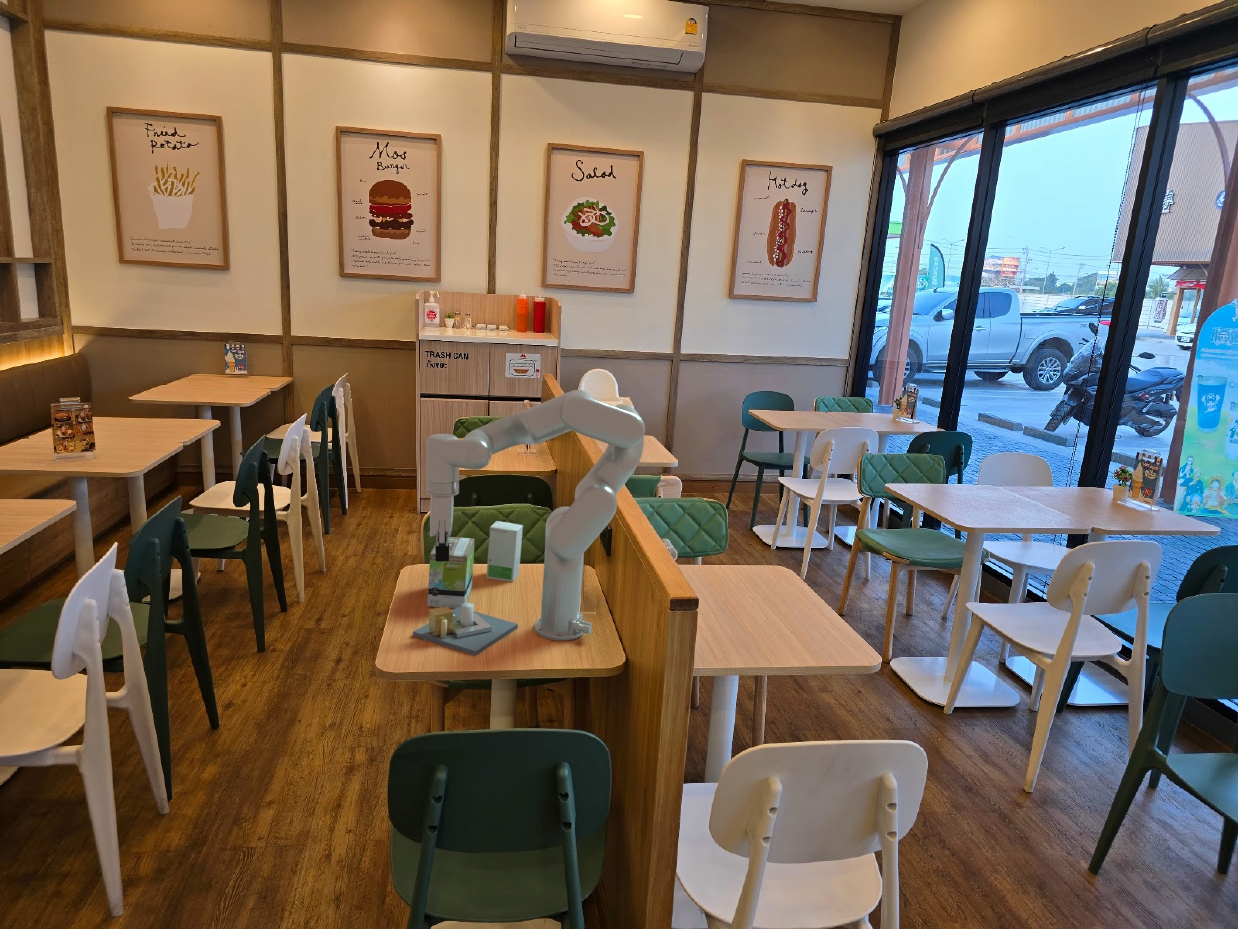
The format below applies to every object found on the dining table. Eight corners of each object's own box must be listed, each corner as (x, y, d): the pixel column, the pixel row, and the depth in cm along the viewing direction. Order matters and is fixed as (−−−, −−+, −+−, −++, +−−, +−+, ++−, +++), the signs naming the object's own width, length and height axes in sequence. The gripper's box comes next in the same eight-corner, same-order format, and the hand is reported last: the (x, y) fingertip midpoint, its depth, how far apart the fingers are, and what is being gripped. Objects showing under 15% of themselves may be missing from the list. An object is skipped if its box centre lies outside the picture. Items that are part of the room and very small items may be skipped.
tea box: (465, 609, 212) (467, 555, 209) (426, 607, 211) (427, 553, 208) (472, 587, 227) (475, 536, 223) (436, 585, 226) (437, 534, 223)
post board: (517, 628, 203) (519, 602, 202) (475, 656, 187) (476, 627, 186) (458, 611, 211) (459, 585, 209) (412, 636, 195) (413, 608, 193)
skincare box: (485, 578, 234) (488, 526, 230) (493, 570, 240) (495, 520, 236) (514, 582, 232) (516, 530, 229) (520, 574, 239) (523, 523, 235)
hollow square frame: (475, 616, 205) (476, 596, 204) (491, 630, 198) (492, 609, 197) (424, 626, 197) (424, 605, 196) (439, 641, 190) (440, 619, 189)
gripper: (427, 478, 199) (427, 550, 203) (424, 495, 184) (424, 571, 189) (459, 478, 200) (458, 549, 204) (458, 495, 186) (458, 571, 190)
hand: (442, 560), depth 196 cm, fingers closed
